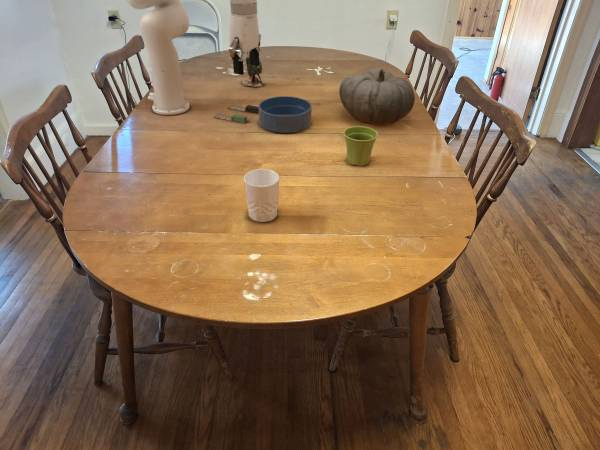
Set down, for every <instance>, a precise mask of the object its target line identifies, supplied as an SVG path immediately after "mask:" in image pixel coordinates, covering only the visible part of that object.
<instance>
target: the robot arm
mask: <svg viewBox="0 0 600 450" xmlns="http://www.w3.org/2000/svg"><path fill="white" fill-rule="evenodd" d="M126 2H127V3H128V4H129V6H131V7H132V8H133V9H135V10H144V9H145V10H146V9H150V8H152V7H154V8H155V9H152V10H149V11H147V12H146V13H144V14H143V15H142V16H141V18H140V20H139V31H140V35H141V37H142V39H143V40H142V41H143V42H144V45H145V49H146V53H147V58H148V63H149V70H150V75H151V81H152V87H153V92H149V94H148V96H147V100H148V101H152V102H153V104H152V106H151V107H152V108H151V109H152V111H153V112H154V113H156V114H158V115H160V116H161V115H162V116H175V115H180V114H183V113H185V112H187V111H189V110H190V108H191V106H190V102H189V101H187V100H186V99H185V95H184V94H185V93H184V86H183V79H182V72H181V64H180V58H179V54H178V51H177V49H176V47H175V45H174V43H173V40H174V39H176V38H179V37H182V36H184V35H185V34H186V33H187V32H188V31H189V28H190V19H189V15H188V13H187V11H186V9H185V8H184V5H183V4H182V2H181V1H180V0H126ZM229 3H230V18H229V46H228V51H229V56H230V58H231V60H232V67H233V68H232V69H233V74H235V75H240V76H243V75H244V74H245V70H244V69H245V67H244V60H243V58H244V54H247V52H248V55H249V58H250V65H255V66H259V60H260V51H261V49H260V46H261V39H262V34H261V33H260V31H259V30H260V29H259V20H258V0H229Z"/></svg>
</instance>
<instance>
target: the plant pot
mask: <svg viewBox="0 0 600 450" xmlns="http://www.w3.org/2000/svg"><path fill="white" fill-rule="evenodd" d="M342 134H343V136H344V139H345V144H346V145H345V146H346V159H347V160H346V161H347V162H348V164H350V165H351V166H358V167H363V166H366V165H368V164H369V162H370V160H371V156H372V151H373V147H374V144H375V143H376V141H377V140H376V139H377V138H378V137H379V132H378V131H377V130H376V129H374V128H372V127H368V126H361V125H358V126H357V125H356V126H355V125H354V126H350V127H347V128H345V129H344V130H343V133H342Z"/></svg>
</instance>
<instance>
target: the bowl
mask: <svg viewBox="0 0 600 450" xmlns="http://www.w3.org/2000/svg"><path fill="white" fill-rule="evenodd" d="M257 107H258V111H259V113H258V124H259V126H260V127H261V128H263V129H264V130H267V131H270V132H273V133H274V132H275V133H283V134H285V133H286V134H287V133H289V134H290V133H296V132H301V131H303V130H306V129H308V128H309V127H310V126H311V125H312V120H313V105H312V103H311V102H310V101H308V100H307V99H304V98H302V97H297V96H290V95H289V96H288V95H282V96H281V95H280V96H272V97H268V98H266V99H262V100H261V101H260V102H259V103H258V105H257Z"/></svg>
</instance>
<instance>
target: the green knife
mask: <svg viewBox="0 0 600 450" xmlns="http://www.w3.org/2000/svg"><path fill="white" fill-rule="evenodd" d="M215 118H216V119H219V120H225V121H230V122H237V123H241V124H245V123H247V122H248V116H247V115H243V114H238V113H234V114H232V115H231V116H227V115H221V114H218V115H216V116H215Z"/></svg>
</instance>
